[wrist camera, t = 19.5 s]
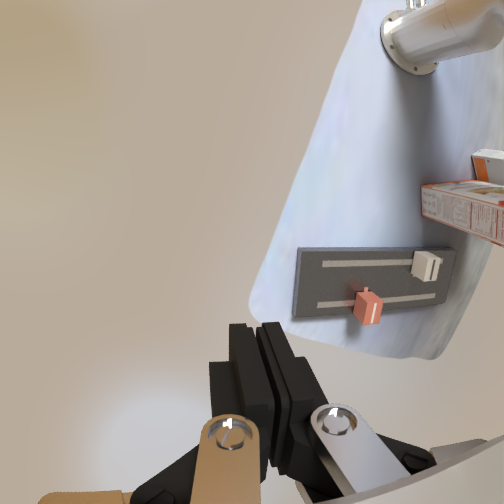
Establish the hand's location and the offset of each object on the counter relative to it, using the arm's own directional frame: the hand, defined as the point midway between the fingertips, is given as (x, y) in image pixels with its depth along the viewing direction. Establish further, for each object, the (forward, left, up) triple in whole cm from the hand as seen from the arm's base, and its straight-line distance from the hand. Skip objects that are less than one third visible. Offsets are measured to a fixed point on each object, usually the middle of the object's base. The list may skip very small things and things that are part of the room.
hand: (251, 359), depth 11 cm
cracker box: (-3, +42, -37) cm, 56 cm away
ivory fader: (+9, +35, -35) cm, 50 cm away
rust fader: (+16, +25, -35) cm, 46 cm away
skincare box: (-10, +51, -37) cm, 64 cm away
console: (+12, +29, -37) cm, 49 cm away
